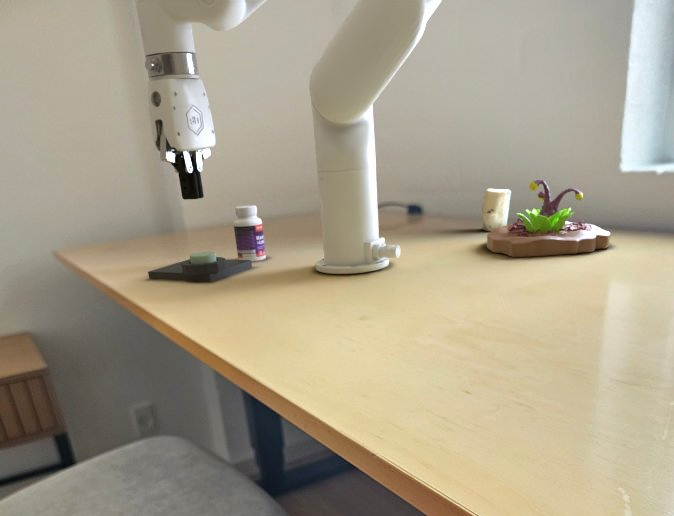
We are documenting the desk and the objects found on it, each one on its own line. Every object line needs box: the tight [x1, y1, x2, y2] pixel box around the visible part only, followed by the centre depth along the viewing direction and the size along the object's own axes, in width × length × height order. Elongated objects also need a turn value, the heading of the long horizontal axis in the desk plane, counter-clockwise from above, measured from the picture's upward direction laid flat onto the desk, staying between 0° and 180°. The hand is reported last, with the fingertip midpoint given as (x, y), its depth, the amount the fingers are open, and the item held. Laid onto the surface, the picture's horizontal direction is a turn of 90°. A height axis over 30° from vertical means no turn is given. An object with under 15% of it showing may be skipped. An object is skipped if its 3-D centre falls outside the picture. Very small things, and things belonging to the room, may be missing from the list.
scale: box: [147, 256, 253, 283], centre depth 116 cm, size 15×13×3 cm
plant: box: [486, 179, 611, 258], centre depth 115 cm, size 20×20×11 cm
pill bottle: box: [233, 204, 267, 262], centre depth 125 cm, size 5×5×10 cm
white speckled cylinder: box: [481, 188, 512, 232], centre depth 136 cm, size 6×5×8 cm
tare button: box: [189, 251, 217, 264], centre depth 112 cm, size 4×4×2 cm
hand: (193, 198), depth 107 cm, fingers closed
